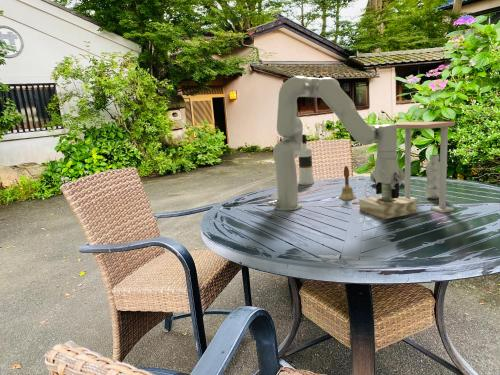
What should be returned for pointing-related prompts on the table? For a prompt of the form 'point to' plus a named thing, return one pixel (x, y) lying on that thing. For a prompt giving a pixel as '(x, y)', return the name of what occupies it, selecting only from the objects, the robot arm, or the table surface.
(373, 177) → the grey rounded lump
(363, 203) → the socket block
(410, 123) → the two-post wooden stand
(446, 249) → the table surface
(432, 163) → the plastic bottle
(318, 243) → the table surface
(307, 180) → the vodka
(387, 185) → the peg
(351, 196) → the hand bell
